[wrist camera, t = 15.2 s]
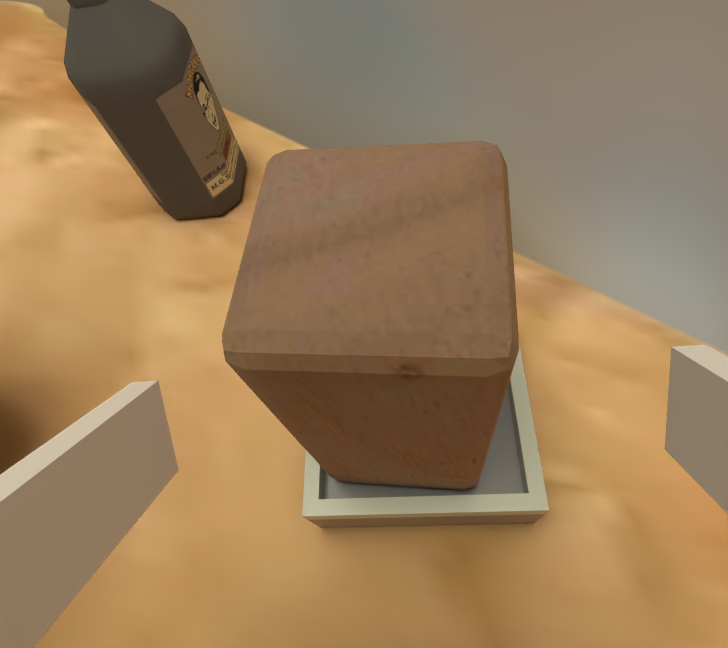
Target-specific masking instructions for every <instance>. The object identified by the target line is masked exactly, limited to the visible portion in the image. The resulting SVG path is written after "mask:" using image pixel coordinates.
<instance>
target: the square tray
mask: <svg viewBox="0 0 728 648" xmlns="http://www.w3.org/2000/svg"><path fill="white" fill-rule="evenodd" d="M548 511H549V507H548V501H547V496H546V490H545V484H544V479H543V473H542V468H541V462H540V457H539V451H538V445H537V440H536V434H535V429H534V423H533V417H532V412H531V406H530V401H529V395H528V390H527V384H526V378H525V373H524V367H523V362H522V356H521V351H520V345H519V351H518V354H517V357H516V361H515V364H514V367H513V371H512V374H511V377H510V380H509V384H508V387H507V390H506V394H505V397H504V400H503V404H502V407H501V410H500V414H499V417H498V420H497V423H496V427H495V430H494V433H493V437H492V440H491V443H490V447H489V450H488V453H487V456H486V460H485V463H484V466H483V470H482V473H481V476H480V478H479V481H478V483H477V486H476V487H473V488H470V489H467V490H454V489H439V488H425V487H410V486H396V485H381V484H366V483H352V482H340V481H338V480H336V479H334V478H332V477H330V476H329V475H328V474H327V472H326V471H325V470H324V469H323V468H322V467H321V466H320V465H319V464H318V463H317V461H316V460H315V459H314V458H313V457H312V456H311V455H310V454H309V453H308V451H307V450H306V457H305V475H304V493H303V511H302V517H304V518H306V519H307V520H309V521H311V522H312V523H314V524H316V525H317V526H319V527H321V528H328V527H374V526H420V525H465V524H511V523H535V522H536V521H537V520H538V519H539V518H541V517H542V516H543V515H544V514H545V513H546V512H548Z"/></svg>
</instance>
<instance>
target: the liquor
mask: <svg viewBox="0 0 728 648" xmlns="http://www.w3.org/2000/svg"><path fill="white" fill-rule="evenodd" d="M67 1H68V2H69V4H70V13H69V22H68V30H67V39H66V48H65V57H64V64H65V68H66V71H67V74H68V78H69V80H70V81H71V82H72V84H73V85H74V87H75V88H76V89H77V91H78V92H79V93H80V95H81V96H82V98H83V99H84V100H85V102H86V103H87V105H88V106H89V107H90V109H91V110H92V112H93V113H94V114H95V116H96V117H97V119H98V120H99V121H100V123H101V124H102V126H103V127H104V128H105V130H106V131H107V133H108V134H109V135H110V137H111V138H112V140H113V141H114V142H115V144H116V145H117V147H118V148H119V149H120V151H121V152H122V154H123V155H124V156H125V158H126V159H127V161H128V162H129V163H130V165H131V166H132V168H133V169H134V170H135V172H136V173H137V175H138V176H139V177H140V179H141V180H142V182H143V183H144V184H145V186H146V187H147V188H148V190H149V191H150V193H151V194H152V195H153V197H154V198H155V200H156V201H157V202H158V204H159V205H160V206H161V207H162V208H163V209H164V210H165V211H167V212H168V213H169V214H170V215H171V216H172V217H174V218H177V219H179V220H182V219H192V218H202V217H212V216H222V215H223V214H225V213H226V212H227V211H228V210H230V209H231V208H232V207H234V206H235V205H236V204H237V203H239V202H240V197H241V191H242V185H243V179H244V173H245V166H246V161H245V159H244V156H243V154H242V152H241V150H240V147H239V145H238V143H237V141H236V139H235V136H234V134H233V132H232V130H231V127H230V125H229V123H228V121H227V118H226V116H225V114H224V112H223V110H222V107H221V105H220V103H219V101H218V98H217V96H216V94H215V92H214V90H213V88H212V85H211V83H210V81H209V79H208V76H207V74H206V72H205V69H204V67H203V65H202V63H201V60H200V58H199V56H198V54H197V52H196V49H195V47H194V45H193V43H192V40H191V38H190V36H189V34H188V31H187V29H186V27H185V25H183V23H182V22H181V21H180V20H179V19H178V18H177V17H176V16H175V14H174V13H172V12H170V11H168V10H166V9H165V8H163V7H161V6H159V5H157V4H155V3H154V2H152V1H150V0H67Z"/></svg>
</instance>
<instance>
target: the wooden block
mask: <svg viewBox="0 0 728 648" xmlns="http://www.w3.org/2000/svg"><path fill="white" fill-rule="evenodd" d="M222 343H223V349H224V355H225V360H226V362H227V363H228V364H229V365H230V366H231V367H232V369H233V370H234V371H235V372H236V373H237V374H238V375H239V376H240V377H241V379H242V380H243V381H244V382H245V383H246V384H247V385H248V386H249V387H250V388H251V390H252V391H253V392H254V393H255V394H256V395H257V396H258V397H259V398H260V400H261V401H262V402H263V403H264V404H265V405H266V406H267V407H268V408H269V409H270V411H271V412H272V413H273V414H274V415H275V416H276V417H277V418H278V419H279V421H280V422H281V423H282V424H283V425H284V426H285V427H286V428H287V429H288V430H289V432H290V433H291V434H292V435H293V436H294V437H295V438H296V439H297V440H298V442H299V443H300V444H301V445H302V446H303V447H304V448H305V449H306V450H307V451H308V453H309V454H310V455H311V456H312V457H313V458H314V459H315V460H316V461H317V463H318V464H319V465H320V466H321V467H322V468H323V469H324V470H325V471H326V472H327V474H328V475H329V476H330V477H332V478H334V479H336V480H338V481H340V482H352V483H366V484H381V485H396V486H410V487H425V488H439V489H454V490H467V489H470V488H473V487H476V486H477V483H478V481H479V478H480V476H481V473H482V470H483V466H484V463H485V460H486V456H487V453H488V450H489V447H490V443H491V440H492V437H493V433H494V430H495V427H496V423H497V420H498V417H499V414H500V410H501V407H502V404H503V400H504V397H505V394H506V390H507V387H508V384H509V380H510V377H511V374H512V371H513V367H514V364H515V361H516V357H517V354H518V351H519V339H518V324H517V309H516V293H515V278H514V263H513V248H512V233H511V219H510V203H509V187H508V173H507V165H506V163H505V161H504V158H503V156H502V153H501V152H500V150H499V148H498V146H497V145H494V144H491V143H487V142H484V141H472V142H449V143H429V144H407V145H386V146H366V147H344V148H323V149H302V150H286V151H283V152H281V153H278V154H276V155H273V157H272V158H271V159H270V160H269V161H268V162H267V165H266V169H265V173H264V176H263V180H262V184H261V188H260V192H259V195H258V199H257V203H256V207H255V211H254V214H253V218H252V222H251V226H250V230H249V234H248V237H247V241H246V245H245V249H244V253H243V256H242V260H241V264H240V268H239V272H238V275H237V279H236V283H235V287H234V291H233V294H232V298H231V302H230V306H229V310H228V314H227V317H226V321H225V325H224V329H223V333H222Z"/></svg>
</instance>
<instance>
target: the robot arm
mask: <svg viewBox="0 0 728 648" xmlns="http://www.w3.org/2000/svg"><path fill="white" fill-rule="evenodd" d="M665 450H666V451H667V452H668V453H669V454H670V455H671V456H672V457H673V458H674V459H675V460H676V461H677V462H678V463H679V464H680V465H681V466H682V467H683V468H684V469H685V470H686V471H687V472H688V474H689V475H690V476H691V477H692V478H693V479H694V480H695V481H696V482H697V483H698V484H699V485H700V486H701V487H702V488H703V489H704V490H705V491H706V492H707V493H708V494H709V495H710V496H711V497H712V498H713V499H714V500H715V501H716V502H717V503H718V504H719V505H720V506H721V507H722V509H723V510H724V511H725V512H726V513H727V514H728V357H727V356H726V355H724V354H722V353H720V352H718V351H716V350H714V349H712V348H711V347H709V346H707V345H693V346H678V347H671V360H670V376H669V391H668V407H667V423H666V438H665ZM177 471H178V466H177V461H176V457H175V453H174V448H173V444H172V439H171V435H170V431H169V426H168V422H167V418H166V413H165V409H164V404H163V400H162V396H161V391H160V387H159V382H158V381H144V382H131V383H130V384H129V385H127V386H126V387H124V388H123V389H121V390H120V391H119V392H117V393H116V394H114V395H113V396H111V397H110V398H109V399H107V400H106V401H104V402H103V403H101V404H100V405H99V406H97V407H96V408H94V409H93V410H92V411H90V412H89V413H87V414H86V415H84V416H83V417H82V418H80V419H79V420H77V421H76V422H74V423H73V424H72V425H70V426H69V427H67V428H66V429H64V430H63V431H62V432H60V433H59V434H57V435H56V436H54V437H53V438H52V439H50V440H49V441H47V442H46V443H45V444H43V445H42V446H40V447H39V448H37V449H36V450H35V451H33V452H32V453H30V454H29V455H27V456H26V457H25V458H23V459H22V460H20V461H19V462H17V463H16V464H15V465H13V466H12V467H10V468H9V469H7V470H6V471H5V472H3V473H2V474H0V648H34V646H35V645H36V644H37V643H38V641H39V640H40V639H41V638H42V637H43V635H44V634H45V633H46V632H47V630H48V629H49V628H50V627H51V625H52V624H53V623H54V622H55V621H56V619H57V618H58V617H59V616H60V614H61V613H62V612H63V611H64V610H65V608H66V607H67V606H68V605H69V603H70V602H71V601H72V600H73V599H74V597H75V596H76V595H77V594H78V592H79V591H80V590H81V589H82V588H83V586H84V585H85V584H86V583H87V581H88V580H89V579H90V578H91V577H92V575H93V574H94V573H95V572H96V570H97V569H98V568H99V567H100V566H101V564H102V563H103V562H104V561H105V559H106V558H107V557H108V556H109V555H110V553H111V552H112V551H113V550H114V548H115V547H116V546H117V545H118V544H119V542H120V541H121V540H122V539H123V537H124V536H125V535H126V534H127V533H128V531H129V530H130V529H131V528H132V526H133V525H134V524H135V523H136V522H137V520H138V519H139V518H140V517H141V515H142V514H143V513H144V512H145V511H146V509H147V508H148V507H149V506H150V504H151V503H152V502H153V501H154V499H155V498H156V497H157V496H158V495H159V493H160V492H161V491H162V490H163V488H164V487H165V486H166V485H167V484H168V482H169V481H170V480H171V479H172V477H173V476H174V475H175V474H176V473H177Z"/></svg>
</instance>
